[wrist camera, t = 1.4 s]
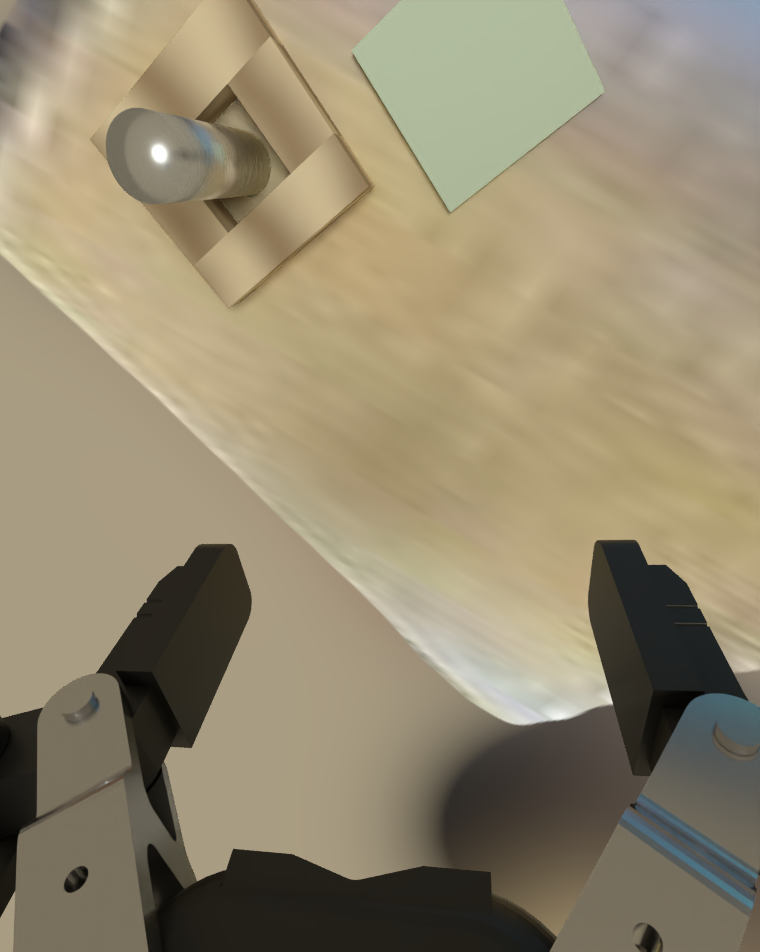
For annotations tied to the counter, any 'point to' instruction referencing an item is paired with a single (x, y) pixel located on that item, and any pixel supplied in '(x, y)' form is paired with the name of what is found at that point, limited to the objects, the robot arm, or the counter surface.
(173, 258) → the counter surface
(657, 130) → the counter surface
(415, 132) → the mat
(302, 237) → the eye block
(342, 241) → the counter surface
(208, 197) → the peg
